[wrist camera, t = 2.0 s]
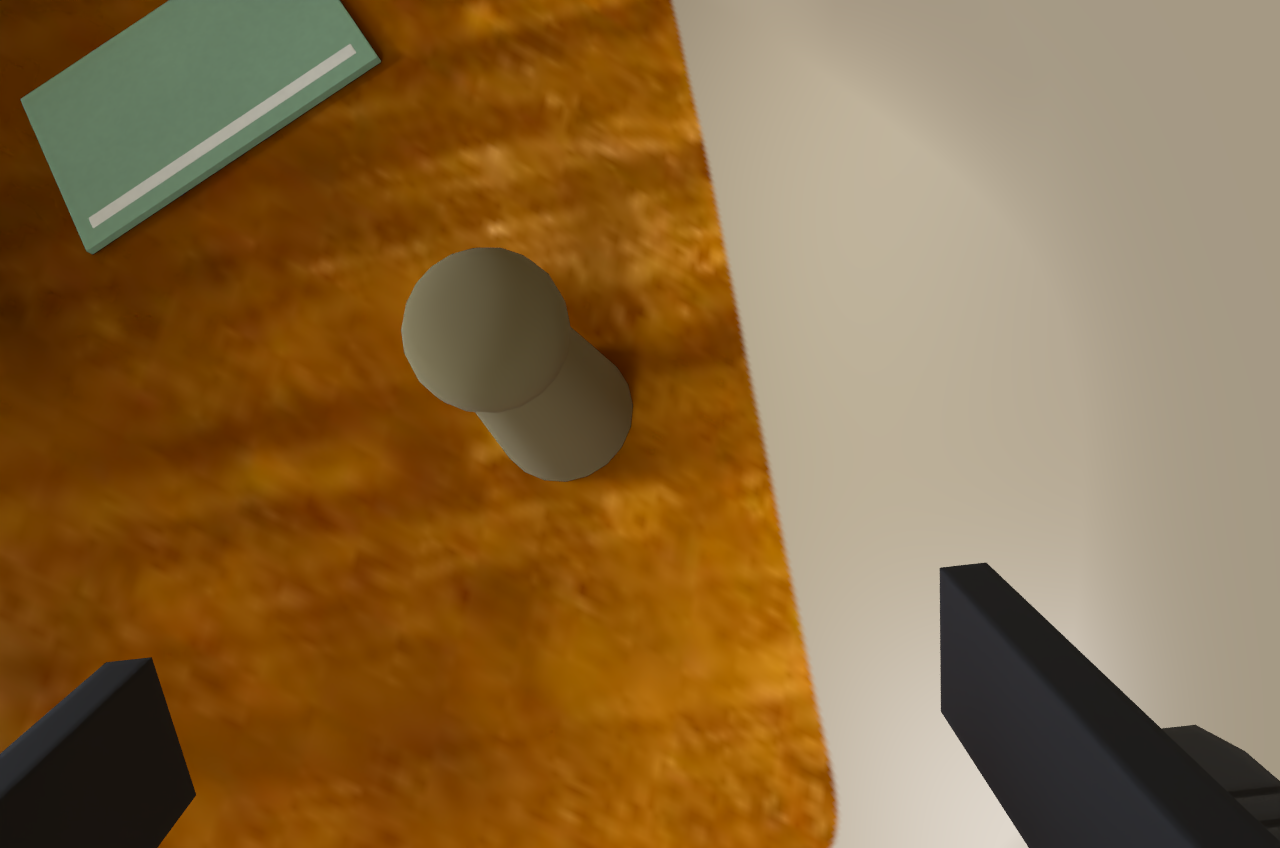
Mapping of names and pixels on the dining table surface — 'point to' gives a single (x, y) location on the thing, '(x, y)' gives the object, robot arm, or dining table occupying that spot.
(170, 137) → the cloth
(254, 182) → the dining table surface
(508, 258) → the cork
